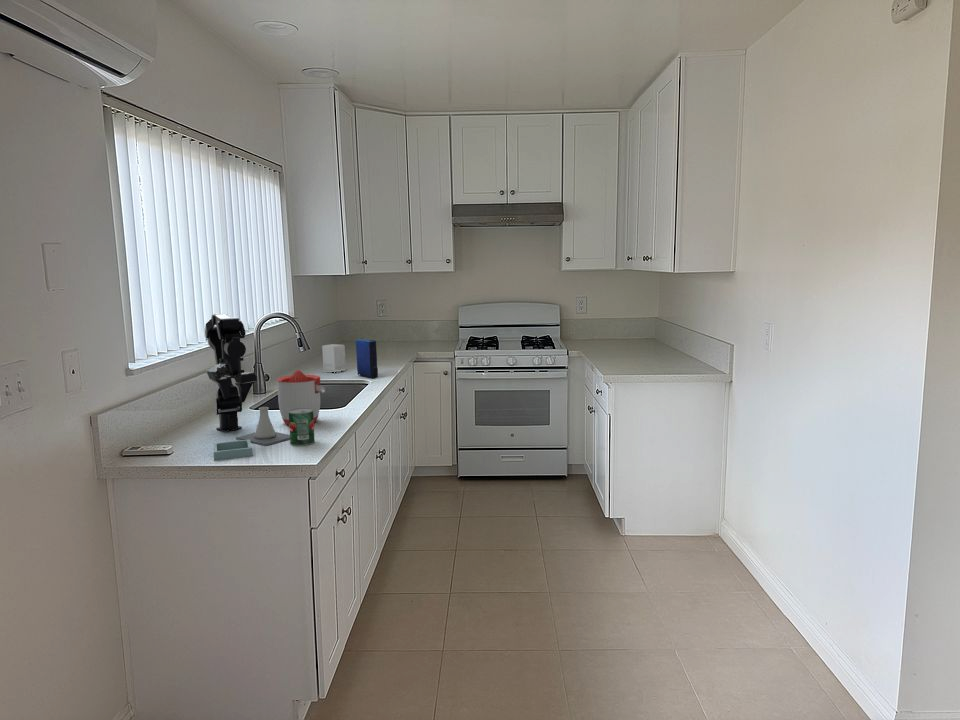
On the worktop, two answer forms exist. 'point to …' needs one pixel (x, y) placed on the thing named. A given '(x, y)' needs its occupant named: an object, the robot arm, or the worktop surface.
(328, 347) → the supplement box
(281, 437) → the mat
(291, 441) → the canned tomato
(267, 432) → the flask
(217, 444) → the shallow square tray
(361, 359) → the book
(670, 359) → the worktop surface
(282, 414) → the citrus juicer
